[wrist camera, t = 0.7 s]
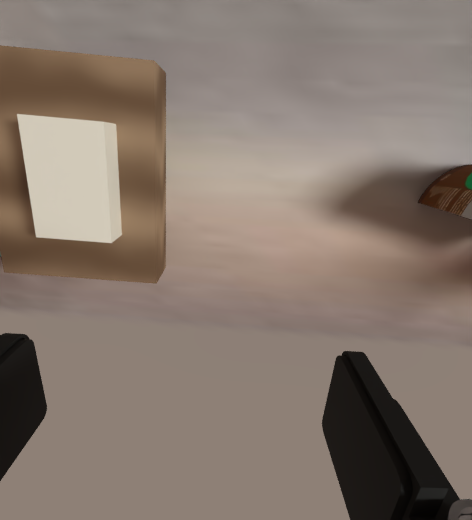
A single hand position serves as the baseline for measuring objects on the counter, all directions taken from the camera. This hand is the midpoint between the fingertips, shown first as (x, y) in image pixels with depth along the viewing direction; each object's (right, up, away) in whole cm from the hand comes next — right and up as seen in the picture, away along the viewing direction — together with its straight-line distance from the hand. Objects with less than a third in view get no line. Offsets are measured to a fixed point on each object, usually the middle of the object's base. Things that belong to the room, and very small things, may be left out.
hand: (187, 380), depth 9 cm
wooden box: (-12, +12, +19) cm, 26 cm away
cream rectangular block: (-11, +10, +15) cm, 21 cm away
